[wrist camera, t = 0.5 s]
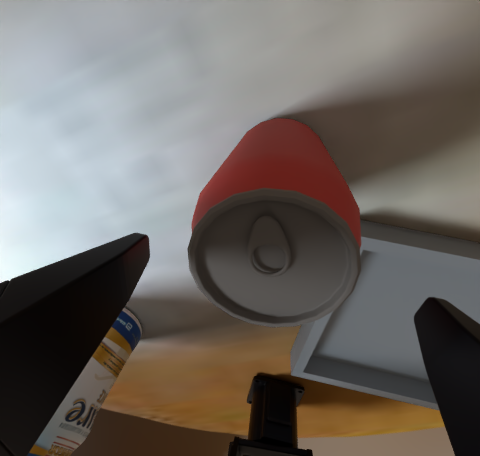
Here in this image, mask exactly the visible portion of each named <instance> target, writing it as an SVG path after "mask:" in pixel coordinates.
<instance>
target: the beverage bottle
mask: <svg viewBox="0 0 480 456" xmlns="http://www.w3.org/2000/svg"><path fill="white" fill-rule="evenodd" d="M141 336H142V328H141V325H140V323H139V321H138V319H137V318H136V317H135V316H134V315H133V314H132V313H131V312H130V311H129V310H127V309H126V308H123V310H122V311H121V313H120V315H119V316H118V318H117V319H116V321H115V322H114V324H113V325H112V327H111V328H110V330H109V331H108V333H107V334H106V336H105V337H104V339H103V341H102V342H101V344H100V345H99V347H98V348H97V350H96V351H95V353H94V354H93V356H92V357H91V359H90V360H89V362H88V363H87V365H86V366H85V368H84V370H83V371H82V373H81V374H80V376H79V377H78V379H77V380H76V382H75V383H74V385H73V386H72V388H71V389H70V391H69V392H68V394H67V395H66V397H65V399H64V400H63V402H62V403H61V405H60V406H59V408H58V409H57V411H56V412H55V414H54V415H53V417H52V418H51V420H50V421H49V423H48V424H47V426H46V428H45V429H44V431H43V432H42V434H41V435H40V437H39V438H38V440H37V441H36V443H35V444H34V446H33V447H32V449H31V450H30V452H29V453H28V455H27V456H70V455H71V453H72V452H73V451H74V450H75V449H76V448H77V447H78V446H79V445H81V444H82V443H83V441H84V440H85V439H86V437H87V435H88V434H89V432H90V430H91V428H92V426H93V422H94V418H95V416H96V414H97V413H98V411H99V409H100V407H101V406H102V404H103V402H104V400H105V398H106V397H107V395H108V393H109V391H110V389H111V388H112V386H113V384H114V382H115V381H116V379H117V377H118V375H119V373H120V372H121V370H122V368H123V366H124V365H125V363H126V361H127V359H128V358H129V356H130V354H131V353H132V351H133V350H134V348H135V347H136V346H137V344H138V342H139V340H140V338H141Z"/></svg>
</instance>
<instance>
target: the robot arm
mask: <svg viewBox="0 0 480 456" xmlns="http://www.w3.org/2000/svg"><path fill="white" fill-rule="evenodd" d="M149 258H150V249H149V238H148V236H147V235H145V234H140V233H133V234H130V235H128V236H125V237H122V238H120V239H117V240H114V241H112V242H109V243H106V244H104V245H101V246H98V247H95V248H93V249H90V250H87V251H85V252H82V253H79V254H77V255H74V256H71V257H69V258H66V259H63V260H61V261H58V262H55V263H53V264H50V265H47V266H45V267H42V268H39V269H37V270H34V271H31V272H29V273H26V274H23V275H21V276H18V277H15V278H12V279H11V280H10V281H8V280H7V281H4V282H2V283H0V456H27V455H28V453H29V452H30V450H31V449H32V447H33V446H34V444H35V443H36V441H37V440H38V438H39V437H40V435H41V434H42V432H43V431H44V429H45V428H46V426H47V424H48V423H49V421H50V420H51V418H52V417H53V415H54V414H55V412H56V411H57V409H58V408H59V406H60V405H61V403H62V402H63V400H64V399H65V397H66V395H67V394H68V392H69V391H70V389H71V388H72V386H73V385H74V383H75V382H76V380H77V379H78V377H79V376H80V374H81V373H82V371H83V370H84V368H85V366H86V365H87V363H88V362H89V360H90V359H91V357H92V356H93V354H94V353H95V351H96V350H97V348H98V347H99V345H100V344H101V342H102V341H103V339H104V337H105V336H106V334H107V333H108V331H109V330H110V328H111V327H112V325H113V324H114V322H115V321H116V319H117V318H118V316H119V315H120V313H121V311H122V310H123V308H124V307H125V305H126V304H127V302H128V300H129V299H130V297H131V295H132V293H133V291H134V289H135V287H136V285H137V283H138V281H139V279H140V277H141V275H142V273H143V271H144V269H145V267H146V265H147V263H148V261H149ZM414 324H415V328H416V333H417V337H418V341H419V345H420V349H421V353H422V358H423V362H424V365H425V369H426V372H427V376H428V379H429V382H430V384H431V387H432V390H433V393H434V396H435V399H436V402H437V405H438V407H439V410H440V413H441V416H442V419H443V422H444V425H445V428H446V431H447V433H448V436H449V439H450V442H451V445H452V448H453V451H454V454H455V456H480V324H479V323H478V322H476V321H475V320H473V319H472V318H471V317H469V316H468V315H466V314H465V313H464V312H462V311H461V310H459V309H458V308H457V307H455V306H454V305H452V304H451V303H450V302H448V301H447V300H445V299H441V298H436V297H428V298H427V299H426V300H425V301H424V302H423V304H422V305H421V306H420V308H419V309H418V310H417V311H416V313H415V315H414ZM303 394H304V387H302V386H298V385H294V384H289V383H285V382H281V381H277V380H273V379H269V378H264V377H260V376H254V378H253V381H252V384H251V388H250V391H249V394H248V397H247V403H249V404H252V405H251V414H250V423H249V433H248V440H246V439H241V438H239V437H235V438H234V441H233V442H230V445H229V451H228V456H313V454H312V450H310V449H307V450H304V449H298V442H297V441H298V439H297V409H296V407H297V405H298V403H299V402H300V400H301V398H302V396H303Z"/></svg>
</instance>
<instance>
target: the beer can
mask: <svg viewBox="0 0 480 456" xmlns="http://www.w3.org/2000/svg"><path fill="white" fill-rule="evenodd" d="M360 247H361V227H360V211H359V207H358V205H357V203H356V201H355V199H354V197H353V195H352V193H351V191H350V189H349V187H348V185H347V183H346V182H345V180H344V178H343V176H342V175H341V173H340V171H339V170H338V168H337V166H336V165H335V163H334V161H333V160H332V158H331V156H330V155H329V153H328V151H327V150H326V148H325V146H324V145H323V143H322V141H321V140H320V138H319V136H318V135H317V134H316V133H315V132H313V131H312V130H311V129H310V128H309V127H308V126H307V125H305V124H303V123H300V122H298V121H296V120H293V119H282V118H275V119H271V120H268V121H264V122H261V123H259V124H258V125H256V126H255V127H253V128H252V129H250V130H249V131H248V132H247V133H246V134H245V136H244V137H243V138H242V139H241V141H240V142H239V143H238V145H237V146H236V147H235V149H234V150H233V151H232V152H231V154H230V155H229V156H228V158H227V159H226V160H225V161H224V163H223V164H222V165H221V167H220V168H219V169H218V171H217V172H216V173H215V174H214V176H213V177H212V178H211V180H210V181H209V182H208V184H207V185H206V186H205V188H204V189H203V190H202V191H201V193H200V195H199V199H198V202H197V205H196V209H195V212H194V215H193V220H192V236H191V239H190V243H189V246H188V258H189V269H190V271H191V273H192V276H193V278H194V280H195V282H196V284H197V286H198V288H199V289H200V290H201V291H202V292H203V294H204V295H205V296H206V297H207V298H208V299H209V300H210V301H211V302H212V303H213V304H214V305H215V306H217V307H218V308H220V309H221V310H223V311H224V312H226V313H227V314H229V315H230V316H232V317H235V318H238V319H240V320H243V321H245V322H248V323H251V324H256V325H262V326H268V327H289V326H298V325H302V324H305V323H309V322H312V321H316V320H319V319H321V318H322V317H324V316H326V315H327V314H329V313H331V312H332V311H334V310H336V309H338V308H339V307H340V306H341V305H342V304H343V302H344V301H345V300H346V299H347V298H348V297H349V296H350V295H351V293H352V292H353V291H354V288H355V286H356V283H357V280H358V278H359V275H360V272H361V260H360Z"/></svg>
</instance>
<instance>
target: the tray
mask: <svg viewBox="0 0 480 456" xmlns="http://www.w3.org/2000/svg"><path fill="white" fill-rule="evenodd" d="M360 227H361V247H360V260H361V272H360V275H359V278H358V280H357V283H356V286H355V288H354V291H353V292H352V293H351V295H350V296H349V297H348V298H347V299H346V300H345V301H344V302H343V304H342V305H341V306H340V307H339V308H338V309H336V310H334V311H332V312H331V313H329V314H327V315H326V316H324V317H322V318H321V319H319V320H316V321H312V322H309V323H305V324H302V325H301V328H300V330H299V332H298V335H297V337H296V340H295V342H294V345H293V347H292V349H291V375H293V376H297V377H301V378H305V379H309V380H314V381H318V382H322V383H326V384H330V385H335V386H339V387H343V388H347V389H352V390H356V391H360V392H364V393H368V394H373V395H377V396H381V397H385V398H389V399H394V400H398V401H402V402H406V403H410V404H415V405H419V406H423V407H427V408H431V409H436V410H439V407H438V405H437V402H436V399H435V396H434V393H433V390H432V387H431V384H430V382H429V379H428V376H427V372H426V369H425V365H424V362H423V358H422V353H421V349H420V345H419V341H418V337H417V333H416V328H415V324H414V315H415V313H416V311H417V310H418V309H419V308H420V306H421V305H422V304H423V302H424V301H425V300H426V299H427V298H428V297H436V298H441V299H445V300H447V301H448V302H450V303H451V304H452V305H454V306H455V307H457V308H458V309H459V310H461V311H462V312H464V313H465V314H466V315H468V316H469V317H471V318H472V319H473V320H475V321H476V322H478V323H479V324H480V243H478V242H473V241H468V240H463V239H457V238H452V237H447V236H442V235H437V234H432V233H426V232H421V231H416V230H411V229H406V228H401V227H395V226H390V225H385V224H380V223H375V222H370V221H364V220H360Z"/></svg>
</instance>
